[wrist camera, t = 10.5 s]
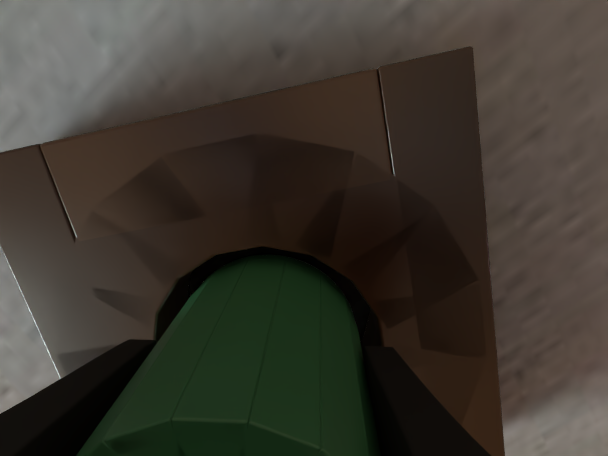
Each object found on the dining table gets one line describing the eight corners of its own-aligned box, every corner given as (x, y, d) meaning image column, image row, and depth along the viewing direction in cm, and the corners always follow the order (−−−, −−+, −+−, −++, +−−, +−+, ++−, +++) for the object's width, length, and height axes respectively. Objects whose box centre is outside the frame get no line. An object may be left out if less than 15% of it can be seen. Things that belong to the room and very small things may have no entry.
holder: (168, 476, 14) (137, 551, 11) (41, 151, 11) (-40, 161, 8) (474, 436, 13) (509, 509, 10) (434, 62, 10) (473, 44, 7)
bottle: (193, 401, 11) (-47, 940, 4) (180, 252, 10) (-225, 641, 2) (352, 406, 11) (417, 980, 4) (360, 255, 10) (487, 685, 2)
